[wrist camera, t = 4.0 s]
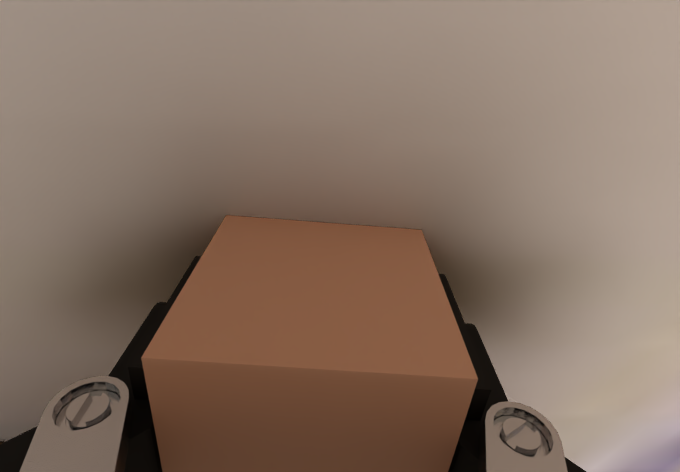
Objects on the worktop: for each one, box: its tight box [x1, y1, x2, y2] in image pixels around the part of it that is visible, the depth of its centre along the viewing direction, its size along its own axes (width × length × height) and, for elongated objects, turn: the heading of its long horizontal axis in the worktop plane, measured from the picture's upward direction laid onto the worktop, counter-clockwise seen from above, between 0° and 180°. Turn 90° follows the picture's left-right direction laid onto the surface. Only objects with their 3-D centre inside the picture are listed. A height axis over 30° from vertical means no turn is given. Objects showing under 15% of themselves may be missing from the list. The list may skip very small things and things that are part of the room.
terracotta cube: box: [141, 215, 478, 472], centre depth 10 cm, size 5×5×5 cm
